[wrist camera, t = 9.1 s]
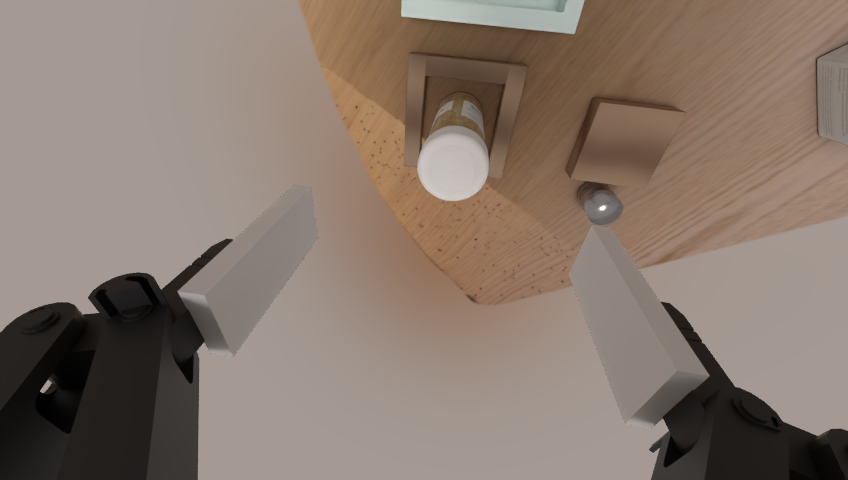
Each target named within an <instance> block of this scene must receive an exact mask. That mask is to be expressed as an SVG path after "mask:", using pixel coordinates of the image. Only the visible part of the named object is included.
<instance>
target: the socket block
mask: <svg viewBox="0 0 848 480" xmlns="http://www.w3.org/2000/svg"><path fill="white" fill-rule="evenodd" d="M527 70H528V66H527V65H526V64H519V63H510V62H500V61H491V60H482V59H473V58H464V57H454V56H445V55H436V54H427V53H417V52H411V53H409V60H408V81H407V103H406V124H405V146H404V166H406V167H414V168H417V165H418V158H419V155H420V152H421V149H422V148H421V147H422V134H423V122H424V109H425V96H426V84H427V76H434V77H442V78H451V79H460V80H469V81H478V82H487V83H496V84H503V89H502V94H501V99H500V103H499V108H498V113H497V118H496V122H495V127H494V132H493V137H492V142H491V146H490V151H489V172H488V176H487V177H491V178H499V179H501V176H502V172H503V168H504V164H505V160H506V156H507V152H508V148H509V144H510V140H511V136H512V132H513V128H514V123H515V119H516V115H517V111H518V107H519V103H520V99H521V95H522V91H523V87H524V83H525V79H526V74H527Z"/></svg>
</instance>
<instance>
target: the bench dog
mask: <svg viewBox="0 0 848 480" xmlns="http://www.w3.org/2000/svg"><path fill="white" fill-rule="evenodd" d="M577 199H578V201H579V202H580V204H581V206H582V207H583V209H584V211H585V212H586V214H587V216H588V218H589V219H590V221H591V222H593V223H595V224H598V225H605V224H609V223H612V222H613V221H615V220H616V219H618V218H619V216H620V215H621V213H622V211H623V205H622V203H621V202H620V200H619V199H618V198H617V197H616V195H615V194H614V193H613V192H612V191H611V189H610V188H609V187H608V186H607V184H605V183H597V182H590V181H587V182H585V183H584V184H583V185H582V186H581V187H580V188H579V189H578V192H577Z"/></svg>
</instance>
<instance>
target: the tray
mask: <svg viewBox="0 0 848 480" xmlns="http://www.w3.org/2000/svg"><path fill="white" fill-rule="evenodd" d="M584 1H585V0H402V7H401V16H402V17H412V18H422V19H432V20H441V21H451V22H461V23H471V24H481V25H490V26H500V27H510V28H520V29H530V30H539V31H549V32H559V33H569V34H575V31H576V27H577V24H578V21H579V18H580V14H581V11H582V8H583V4H584Z"/></svg>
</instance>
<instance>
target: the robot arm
mask: <svg viewBox="0 0 848 480" xmlns="http://www.w3.org/2000/svg"><path fill="white" fill-rule="evenodd" d="M317 239H318V233H317V226H316V219H315V212H314V205H313V199H312V191H311V187H308V186H301V185H293V186H292V187H291V188H290V189H289V190H288V191H287V192H285V194H283V195H282V196H281V197H280V198H279V199H278V200H277V201H276V202H274V203H273V204H272V205H271V206H270V207H269V208H268V209H267V210H266V211H265V212H263V214H261V215H260V216H259V217H258V218H257V219H256V220H255V221H254V222H253V223H251V224H250V225H249V226H248V227H247V228H246V229H245V230H244V231H243V232H242V233H241V234H239V235H238V236H237V237H236V238H235V239H234V240H232V239H225V240H223V241H221V242H219V243H217V244H215V245H213V246H212V247H210V248H209V249H208V250H207V251H206V252H205V253H204V254H202V255H201V258H198V259H196V260H195V261H194V262H193V263H192V265H191V266H188V267H187V268H186V269H185V270H184V271H183V272H181V273H180V274H179V275H178V276H177V277H176V278H174V279H173V280H172V281H171V282H170V283H169V284H168V285H166V286H165V287H164V288H163V289H162V290H161V289H160V288H159V286H158V284H157V282H156V280H155V279H154V277H152V276H151V275H149V274H147V273H130V274H125V275H122V276H118V277H115V278H113V279H111V280H109V281H106V282H105V283H103V284H101V285H100V286H98V287H97V288H96V289H94V290H93V291H92V293H91V294H90V296H89V297H88V299H89V300H90V301H91V302H92V304H93V305H94V306H95V308H96V309H97V310H98V311H99V313H95V314H84V315H83V314H82V313H81V312H80V311H79V310H78V309H77V307H76V306H75V305H73V304H70V303H63V302H61V303H53V304H48V305H44V306H41V307H38V308H35V309H33V310H30V311H29V312H27V313H25V314H23V315H21V316H20V317H18V318H16V319H15V320H14V321H12V322H11V323H10V324H9V325H7V326H6V327H5V329H4V330H3V331H2V332H1V333H0V480H198V411H199V410H198V409H199V357H198V354H197V352H196V351H197V350H198V349H199V347H200V346H201V345H202V344H203V343H204V342H205V344H206V346H207V348H208V349H209V352H210V353H213V354H218V355H224V356H230V357H234V356H235V354H236V353H237V351H238V350H239V349H240V347H241V346H242V344H243V343H244V342H245V340H246V339H247V337H248V336H249V334H250V333H251V332H252V330H253V329H254V328H255V326H256V325H257V323H258V322H259V321H260V319H261V318H262V316H263V315H264V314H265V312H266V311H267V309H268V308H269V307H270V305H271V304H272V302H273V301H274V299H275V298H276V297H277V295H278V294H279V292H280V290H282V288H283V287H284V285H285V284H286V282H287V281H288V280H289V278H290V277H291V276H292V274H293V273H294V271H295V270H296V269H297V267H298V266H299V264H300V263H301V261H302V260H303V259H304V257H305V256H306V255H307V253H308V252H309V250H310V249H311V248H312V246H313V245H314V243H315V242H316V241H317ZM569 277H570V280H571V282H572V285H573V288H574V290H575V293H576V295H577V298H578V301H579V304H580V306H581V309H582V311H583V314H584V317H585V319H586V322H587V324H588V327H589V330H590V333H591V335H592V338H593V341H594V343H595V346H596V349H597V351H598V354H599V356H600V359H601V362H602V365H603V367H604V370H605V372H606V375H607V378H608V380H609V383H610V386H611V388H612V391H613V394H614V396H615V399H616V401H617V404H618V407H619V410H620V412H621V414H622V418H623V420H624V423H625V424H630V425H636V426H642V427H647V428H652V427H654V426H655V425H656V424H657V423H658V422H659V421H660V420H661V419H662V418H663V419H664V421H665V423H666V425H667V427H668V429H669V432H667V433H666V434H665V435H664V436H663V437H661V438H660V439H659V440H658V441H656V442H655V443H654V444H653V445H652V446H651V448H650V449H649V450H650V451H651V452H655V451H656V450H657V449H658V448H660V450H659V453H658V457H657V461H656V464H655V468H654V471H653V475H652V478H651V480H848V431H846V430H843V429H830V430H829V431H827V432H825V433H823V434H821V435H819V436H816V435H813V434H811V433H809V432H806V431H804V430H802V429H799V428H796V427H794V426H792V425H789V424H787V423H784V422H783V421H782V420H781V419H780V417H779V416H778V414H777V413H776V412H775V411H774V410H773V409H772V408H771V407H770V406H768V405H767V404H766V403H765V402H764V401H762V400H761V399H759V398H758V397H756V396H755V395H753V394H752V393H750V392H747V391H745V390H743V389H741V388H737V387H735V386H734V385H733V383H732V382H731V381H730V379H729V378H728V376H727V375H726V374H725V372H724V371H723V369H722V368H721V367H720V365H719V364H718V362H717V361H716V360H715V358H714V357H713V355H712V354H711V353H710V351H709V350H708V348H707V347H706V346H705V344H703V343H702V340H701V339H700V337H699V336H698V334H697V333H696V332H694V329H693V328H692V326H691V325H690V323H689V322H688V321H687V319H686V318H685V316H684V315H683V314H681V313H680V312H679V311H678V310H677V309H676V308H674V307H673V306H672V305H671V304H670V303H665V302H660V301H659V299H658V298H657V296H656V295H655V293H654V292H653V290H652V289H651V287H650V286H649V284H648V283H647V281H646V280H645V278H644V277H643V275H642V274H641V272H640V271H639V269H638V268H637V266H636V265H635V263H634V262H633V260H632V259H631V257H630V256H629V254H628V253H627V251H626V250H625V248H624V247H623V245H622V244H621V242H620V241H619V239H618V238H617V236H616V235H615V233H614V232H613V230H612V229H611V228H610V227H603V226H596V225H592V226H591V228H590V230H589V232H588V234H587V236H586V239H585V241H584V243H583V245H582V247H581V249H580V251H579V253H578V255H577V257H576V260H575V262H574V264H573V266H572V268H571V270H570V272H569ZM47 380H49V381H51V382H52V384H51V385H50V387H49V388H48V390H46V392H44V393H41V392H40V390H41V388H42V387H43V385H44V384H45V383H46V381H47Z"/></svg>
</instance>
